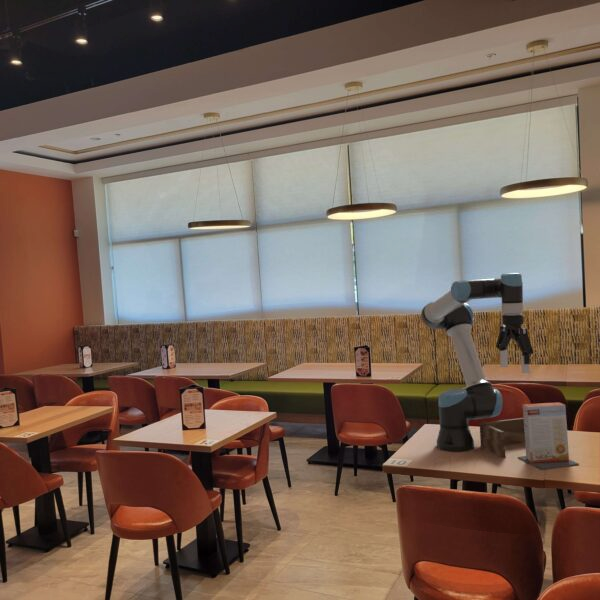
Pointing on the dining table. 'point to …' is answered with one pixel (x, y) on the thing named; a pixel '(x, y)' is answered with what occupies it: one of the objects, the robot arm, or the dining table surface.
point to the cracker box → (545, 432)
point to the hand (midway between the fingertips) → (514, 369)
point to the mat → (549, 463)
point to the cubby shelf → (501, 435)
